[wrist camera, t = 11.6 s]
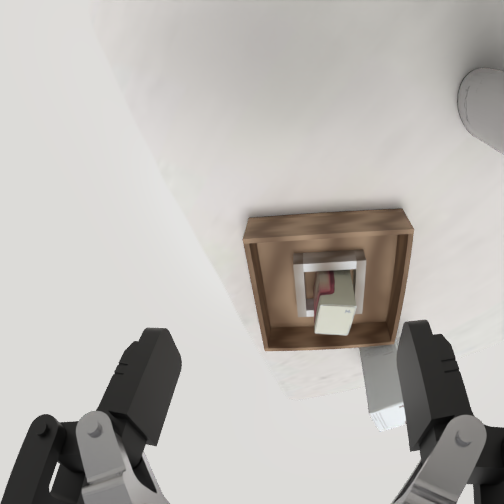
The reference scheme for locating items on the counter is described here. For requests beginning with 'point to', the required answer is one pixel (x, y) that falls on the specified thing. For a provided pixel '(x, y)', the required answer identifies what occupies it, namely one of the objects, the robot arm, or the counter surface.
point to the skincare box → (383, 386)
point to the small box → (333, 302)
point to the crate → (326, 259)
